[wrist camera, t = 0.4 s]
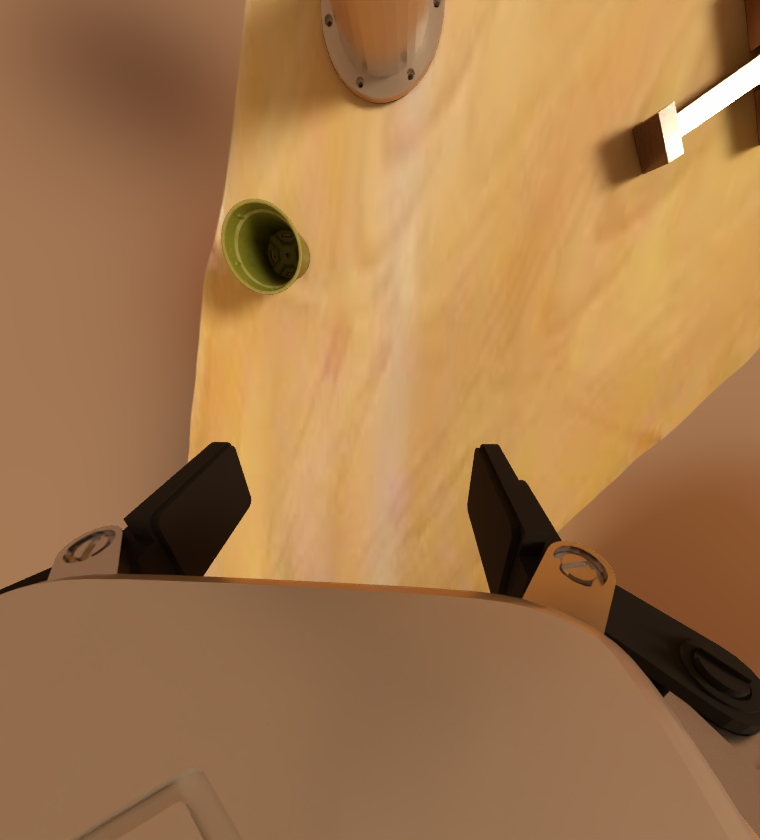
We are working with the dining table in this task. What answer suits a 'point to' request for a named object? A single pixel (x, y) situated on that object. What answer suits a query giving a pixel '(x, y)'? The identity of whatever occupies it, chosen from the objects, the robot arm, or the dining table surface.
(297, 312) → the dining table surface
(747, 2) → the mount
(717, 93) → the lock pin
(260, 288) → the plant pot
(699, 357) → the dining table surface
